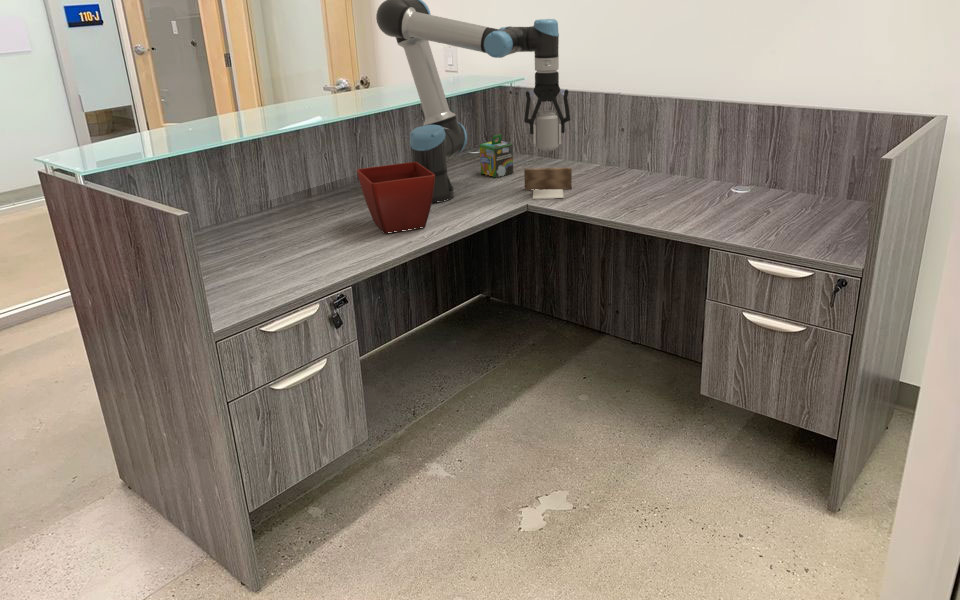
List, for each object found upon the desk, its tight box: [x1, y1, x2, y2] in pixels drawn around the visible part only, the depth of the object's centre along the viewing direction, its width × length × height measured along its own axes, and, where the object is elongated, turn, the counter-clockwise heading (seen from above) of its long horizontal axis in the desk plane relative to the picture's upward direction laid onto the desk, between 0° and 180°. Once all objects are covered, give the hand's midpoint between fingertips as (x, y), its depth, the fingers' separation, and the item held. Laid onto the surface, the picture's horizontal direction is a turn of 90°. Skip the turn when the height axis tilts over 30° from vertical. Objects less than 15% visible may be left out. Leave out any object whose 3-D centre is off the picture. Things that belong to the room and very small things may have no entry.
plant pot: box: [356, 161, 435, 234], centre depth 228 cm, size 19×19×17 cm
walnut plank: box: [523, 167, 573, 191], centre depth 261 cm, size 16×2×7 cm, turn 85°
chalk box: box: [479, 133, 514, 178], centre depth 282 cm, size 9×9×15 cm
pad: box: [532, 189, 564, 200], centre depth 255 cm, size 10×10×1 cm
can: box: [535, 109, 560, 152], centre depth 248 cm, size 8×8×12 cm
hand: (547, 143), depth 250 cm, fingers closed on can, 7 cm apart
